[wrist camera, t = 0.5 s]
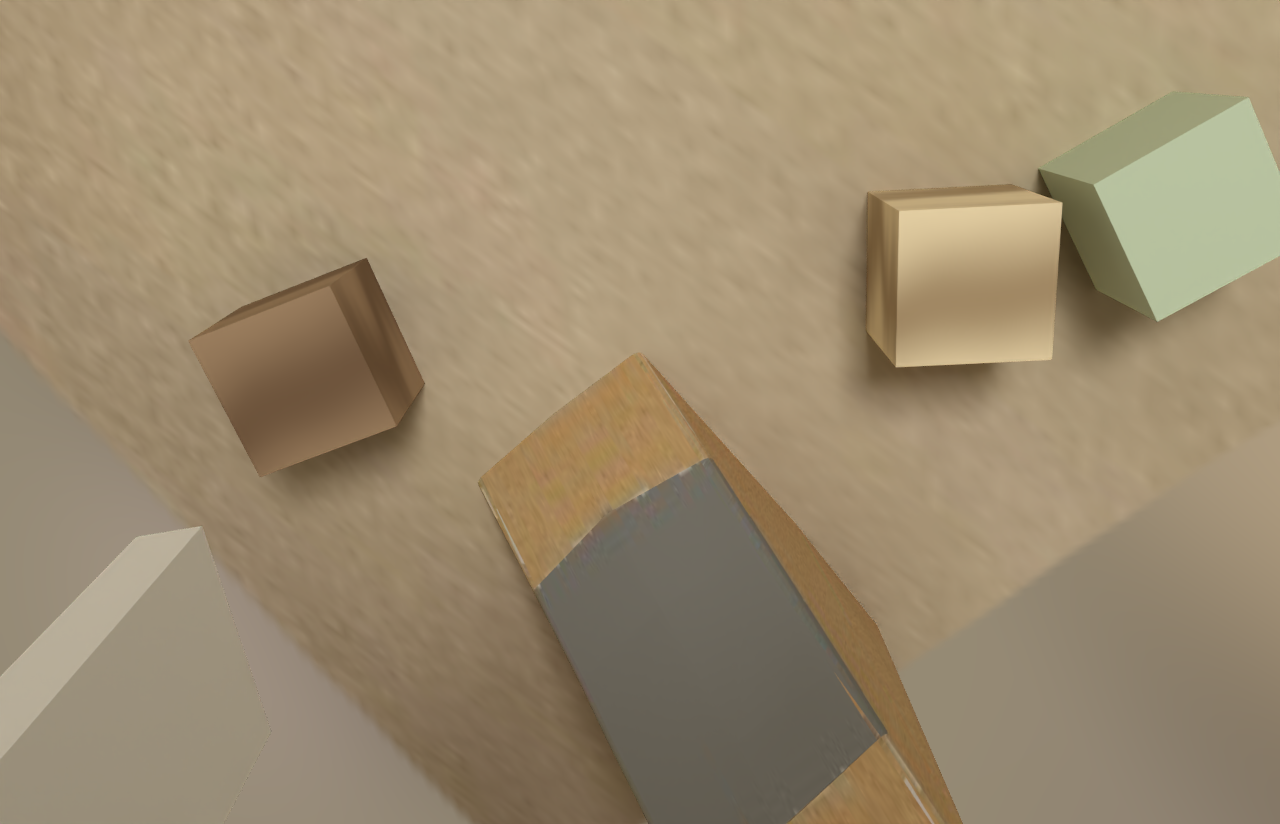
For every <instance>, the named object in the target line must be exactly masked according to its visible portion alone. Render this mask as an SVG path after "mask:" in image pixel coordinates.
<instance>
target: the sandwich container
mask: <svg viewBox="0 0 1280 824" xmlns="http://www.w3.org/2000/svg"><path fill="white" fill-rule="evenodd" d="M478 484H479V487H480V489H481V490H482V492H483V494H484V496H485V498H486V500H487V502H488V504H489V506H490V508H491V510H492V511H493V513H494V515H495V517H496V519H497V521H498V523H499V525H500V527H501V529H502V531H503V533H504V535H505V537H506V539H507V541H508V542H509V544H510V546H511V548H512V550H513V552H514V554H515V556H516V558H517V560H518V562H519V564H520V566H521V568H522V570H523V572H524V574H525V576H526V578H527V580H528V582H529V584H530V586H531V587H532V589H533V591H534V593H535V595H536V597H537V599H538V601H539V603H540V605H541V607H542V609H543V611H544V613H545V615H546V617H547V619H548V621H549V623H550V625H551V627H552V629H553V631H554V633H555V635H556V637H557V639H558V641H559V643H560V645H561V647H562V649H563V651H564V653H565V655H566V657H567V659H568V661H569V663H570V665H571V667H572V669H573V671H574V673H575V674H576V676H577V678H578V680H579V682H580V685H581V687H582V689H583V691H584V693H585V695H586V697H587V699H588V701H589V703H590V706H591V708H592V710H593V712H594V714H595V716H596V718H597V720H598V722H599V724H600V726H601V729H602V731H603V733H604V735H605V737H606V739H607V741H608V743H609V745H610V747H611V749H612V751H613V753H614V755H615V757H616V759H617V761H618V763H619V765H620V767H621V769H622V771H623V773H624V775H625V777H626V779H627V781H628V783H629V785H630V787H631V789H632V791H633V793H634V795H635V797H636V799H637V801H638V803H639V805H640V807H641V809H642V811H643V814H644V816H645V818H646V820H647V822H648V824H963V823H962V821H961V818H960V816H959V814H958V811H957V809H956V807H955V804H954V802H953V800H952V797H951V795H950V793H949V791H948V788H947V786H946V784H945V781H944V779H943V777H942V774H941V772H940V770H939V767H938V765H937V763H936V760H935V758H934V756H933V754H932V751H931V749H930V747H929V744H928V742H927V740H926V737H925V735H924V733H923V731H922V728H921V726H920V724H919V721H918V719H917V717H916V714H915V712H914V710H913V707H912V705H911V703H910V700H909V698H908V696H907V693H906V691H905V689H904V687H903V684H902V682H901V680H900V677H899V675H898V673H897V670H896V668H895V666H894V663H893V661H892V659H891V656H890V654H889V652H888V650H887V647H886V645H885V643H884V640H883V638H882V636H881V633H880V631H879V629H878V626H877V625H876V624H875V622H874V621H873V620H872V619H871V617H870V616H869V615H868V614H867V612H866V611H865V610H864V609H863V607H862V606H861V605H860V604H859V602H858V601H857V600H856V599H855V598H854V596H853V595H852V594H851V593H850V591H849V590H848V589H847V588H846V586H845V585H844V584H843V583H842V581H841V580H840V579H839V578H838V576H837V575H836V574H835V573H834V571H833V570H832V569H831V568H830V566H829V565H828V564H827V563H826V561H825V560H824V559H823V558H822V556H821V555H820V554H819V553H818V551H817V550H816V549H815V548H814V546H813V545H812V544H811V543H810V541H809V540H808V539H807V538H806V536H805V535H804V534H803V533H802V531H801V530H800V529H799V528H798V526H797V525H796V524H795V523H794V522H793V520H792V519H791V518H790V517H789V516H788V515H787V514H786V513H785V512H784V510H783V509H782V508H781V507H780V506H779V505H778V504H777V503H776V502H775V500H774V499H773V498H772V497H771V496H770V495H769V494H768V493H767V492H766V490H765V489H764V488H763V487H762V486H761V485H760V484H759V483H758V482H757V480H756V479H755V478H754V477H753V476H752V475H751V474H750V473H749V472H748V470H747V469H746V468H745V467H744V466H743V465H742V464H741V463H740V462H739V460H738V459H737V458H736V457H735V456H734V455H733V454H732V453H731V452H730V450H729V449H728V448H727V447H726V446H725V445H724V444H723V443H722V442H721V440H720V439H719V438H718V437H717V436H716V435H715V434H714V433H713V432H712V430H711V429H710V428H709V427H708V426H707V425H706V424H705V423H704V422H703V420H702V419H701V418H700V417H699V416H698V415H697V414H696V413H695V412H694V410H693V409H692V408H691V407H690V406H689V405H688V404H687V403H686V402H685V400H684V399H683V398H682V397H681V396H680V395H679V394H678V393H677V392H676V390H675V389H674V388H673V387H672V386H671V385H670V384H669V383H668V382H667V380H666V379H665V378H664V377H663V376H662V375H661V374H660V373H659V372H658V370H657V369H656V368H655V367H654V366H653V365H652V364H651V363H650V362H649V361H648V359H647V358H646V357H645V356H644V355H643V354H642V353H636V354H634V355H632V356H630V357H629V358H628V359H626V360H625V361H624V362H622V363H621V364H620V365H618V366H617V367H616V368H614V369H613V370H612V371H610V372H609V373H608V374H606V375H605V376H604V377H602V378H601V379H600V380H598V381H597V382H596V383H594V384H593V385H592V386H590V387H589V388H588V389H586V390H585V391H584V392H582V393H581V394H580V395H578V396H577V397H576V398H574V399H573V400H572V401H570V402H569V403H568V404H566V405H565V406H564V407H562V408H561V409H560V410H558V411H557V412H556V413H554V414H553V415H552V416H551V417H550V418H548V419H547V420H546V421H545V422H544V423H543V424H542V425H540V426H539V427H538V428H537V429H536V430H535V431H534V432H532V433H531V434H530V435H529V436H528V437H527V438H525V439H524V440H523V441H522V442H521V443H520V444H519V445H517V446H516V447H515V448H514V449H513V450H512V451H511V452H509V453H508V454H507V455H506V456H505V457H504V458H503V459H501V460H500V461H499V462H498V463H497V464H496V465H495V466H493V467H492V468H491V469H490V470H489V471H488V472H487V473H485V474H484V475H483V476H482V477H481V478H480V480H479V482H478Z"/></svg>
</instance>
